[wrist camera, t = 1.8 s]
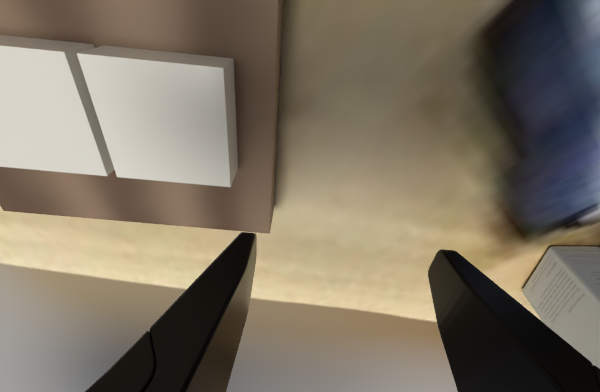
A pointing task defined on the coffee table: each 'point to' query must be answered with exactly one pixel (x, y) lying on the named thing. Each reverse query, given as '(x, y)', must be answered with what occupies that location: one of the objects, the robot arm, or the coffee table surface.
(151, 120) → the tile
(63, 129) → the tile
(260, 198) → the brown flat block
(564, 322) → the skincare box
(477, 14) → the coffee table surface
